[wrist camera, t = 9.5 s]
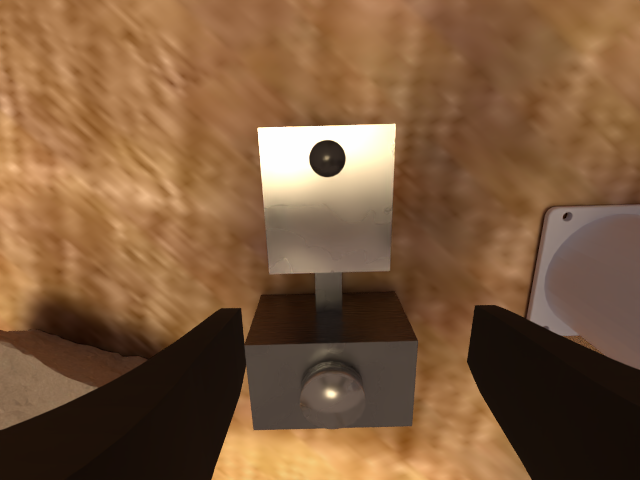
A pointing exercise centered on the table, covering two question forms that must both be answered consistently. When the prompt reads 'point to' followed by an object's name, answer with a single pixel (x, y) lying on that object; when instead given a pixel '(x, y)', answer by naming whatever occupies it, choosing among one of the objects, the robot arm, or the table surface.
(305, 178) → the notched block with hole
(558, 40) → the table surface
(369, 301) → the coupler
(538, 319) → the robot arm
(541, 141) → the table surface
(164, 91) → the table surface
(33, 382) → the concrete fragment
